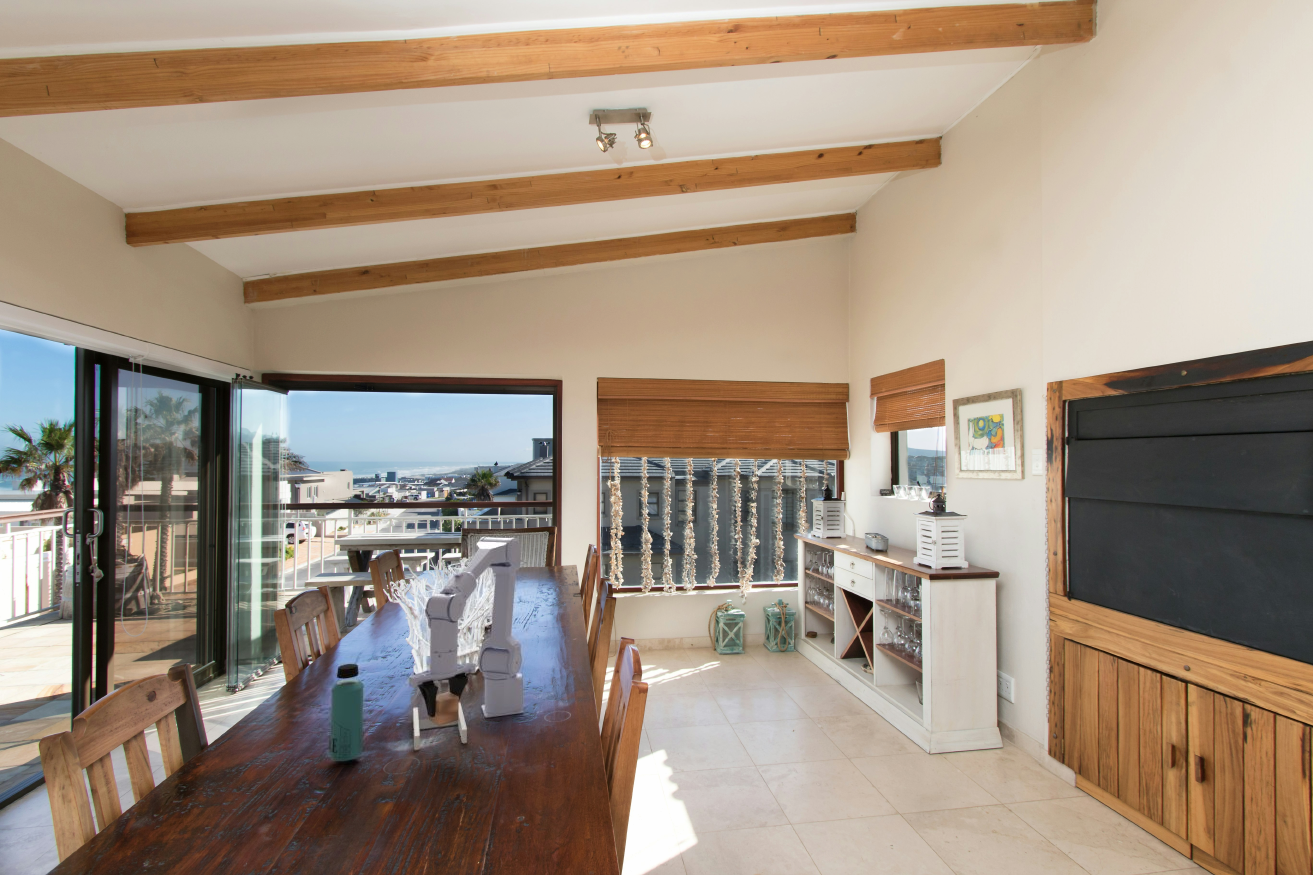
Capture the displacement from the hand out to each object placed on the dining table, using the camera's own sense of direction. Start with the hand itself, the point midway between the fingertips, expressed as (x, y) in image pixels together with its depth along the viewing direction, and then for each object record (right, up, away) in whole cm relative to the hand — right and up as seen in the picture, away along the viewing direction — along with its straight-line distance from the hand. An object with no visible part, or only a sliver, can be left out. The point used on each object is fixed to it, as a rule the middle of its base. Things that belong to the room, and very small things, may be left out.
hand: (442, 712), depth 142 cm
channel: (-4, -9, +11) cm, 15 cm away
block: (0, -1, -1) cm, 2 cm away
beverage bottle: (-18, -8, -5) cm, 21 cm away
